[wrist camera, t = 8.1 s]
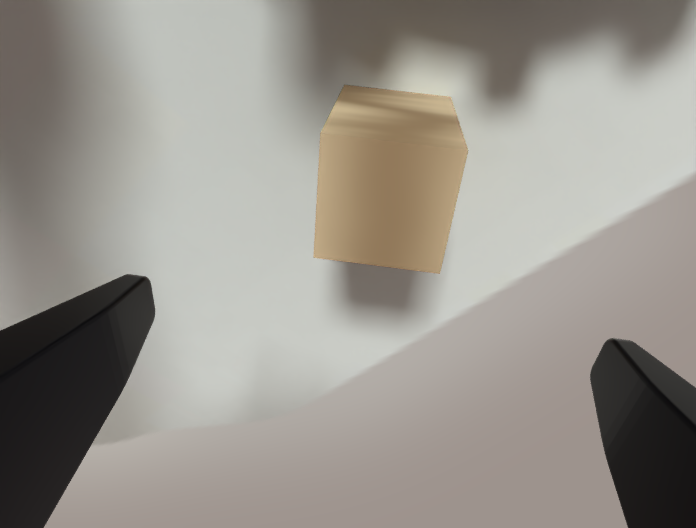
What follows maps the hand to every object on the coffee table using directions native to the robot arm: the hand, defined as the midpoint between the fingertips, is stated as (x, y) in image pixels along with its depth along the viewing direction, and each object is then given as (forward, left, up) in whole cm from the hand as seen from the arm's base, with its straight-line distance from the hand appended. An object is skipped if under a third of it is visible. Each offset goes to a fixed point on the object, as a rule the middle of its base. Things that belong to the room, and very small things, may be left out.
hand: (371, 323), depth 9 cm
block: (0, 0, -11) cm, 11 cm away
